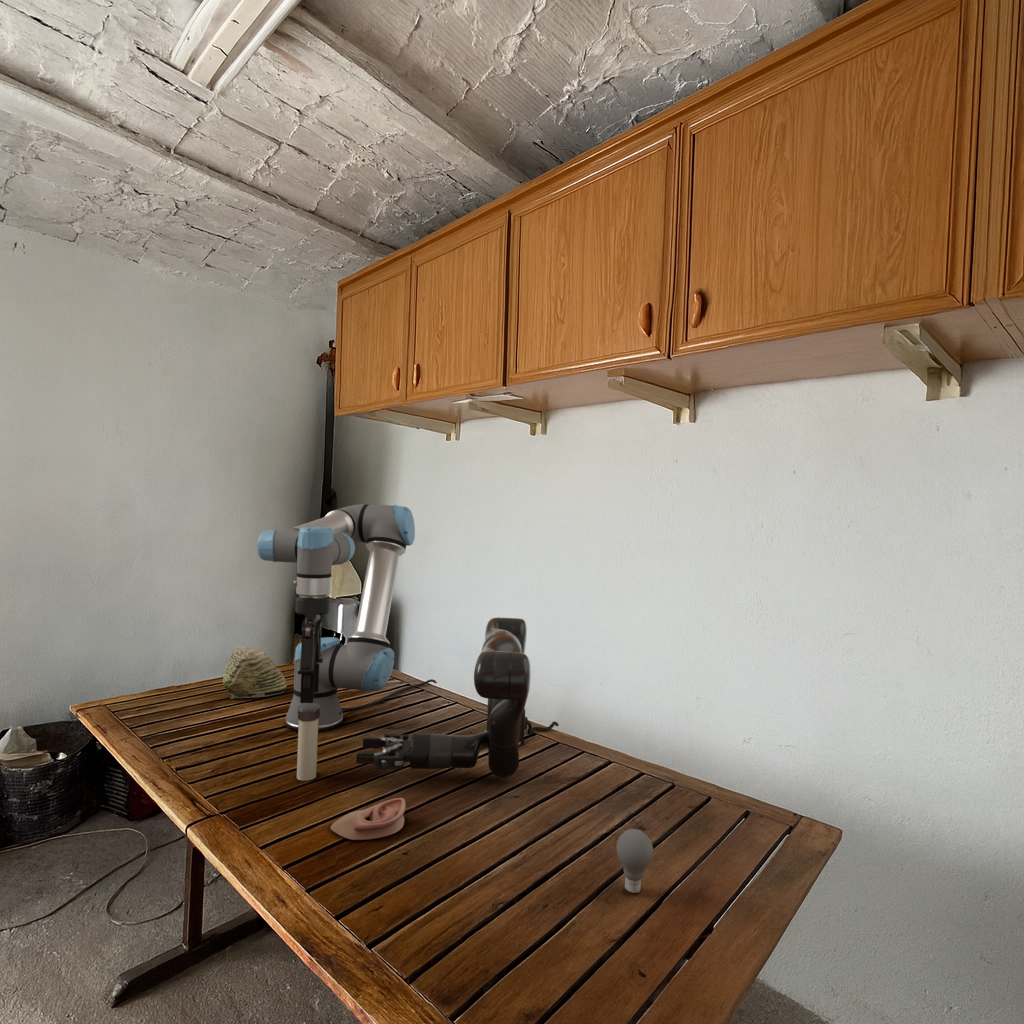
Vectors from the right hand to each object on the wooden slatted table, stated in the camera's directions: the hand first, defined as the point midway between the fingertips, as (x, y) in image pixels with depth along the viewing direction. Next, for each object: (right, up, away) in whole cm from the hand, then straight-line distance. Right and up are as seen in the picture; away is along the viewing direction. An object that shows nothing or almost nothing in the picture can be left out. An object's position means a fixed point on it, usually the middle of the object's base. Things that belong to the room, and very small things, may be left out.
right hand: (359, 750), depth 144 cm
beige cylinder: (-12, -6, -1) cm, 13 cm away
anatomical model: (+7, -7, -21) cm, 23 cm away
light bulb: (+55, -9, -38) cm, 67 cm away
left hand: (-11, +12, -1) cm, 17 cm away
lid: (-11, +10, -1) cm, 15 cm away
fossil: (-46, -3, +54) cm, 71 cm away
